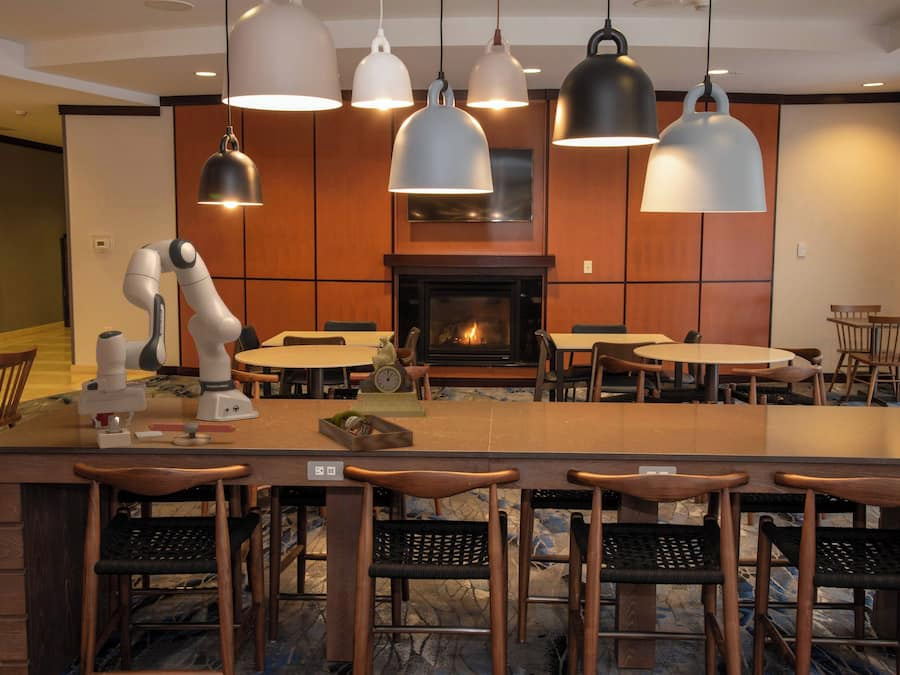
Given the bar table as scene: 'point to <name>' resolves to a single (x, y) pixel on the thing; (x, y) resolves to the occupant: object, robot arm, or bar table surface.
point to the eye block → (114, 438)
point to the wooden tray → (389, 437)
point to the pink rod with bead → (192, 427)
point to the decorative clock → (388, 388)
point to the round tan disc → (192, 439)
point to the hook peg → (114, 424)
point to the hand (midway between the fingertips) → (113, 426)
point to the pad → (148, 434)
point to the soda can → (102, 419)
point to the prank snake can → (353, 422)
